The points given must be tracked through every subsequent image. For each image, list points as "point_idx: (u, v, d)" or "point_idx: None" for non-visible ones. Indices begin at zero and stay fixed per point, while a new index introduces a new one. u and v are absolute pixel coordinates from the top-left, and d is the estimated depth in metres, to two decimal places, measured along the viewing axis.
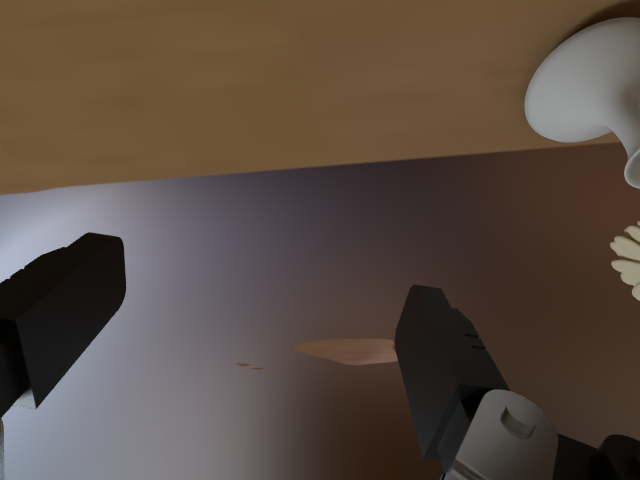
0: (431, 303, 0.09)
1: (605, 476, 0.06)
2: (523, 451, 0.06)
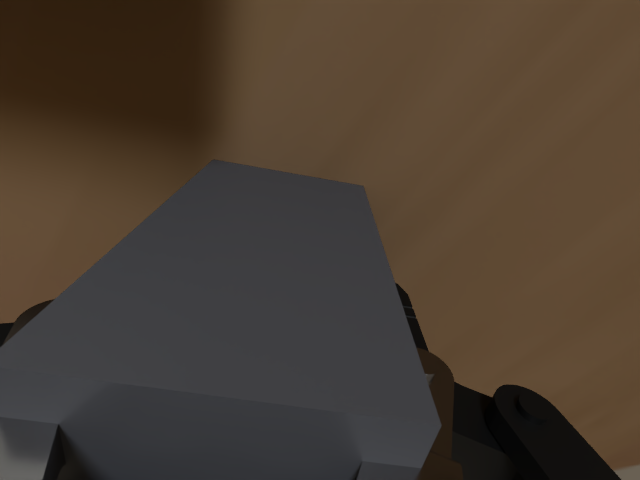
0: None
1: (498, 427, 0.06)
2: None
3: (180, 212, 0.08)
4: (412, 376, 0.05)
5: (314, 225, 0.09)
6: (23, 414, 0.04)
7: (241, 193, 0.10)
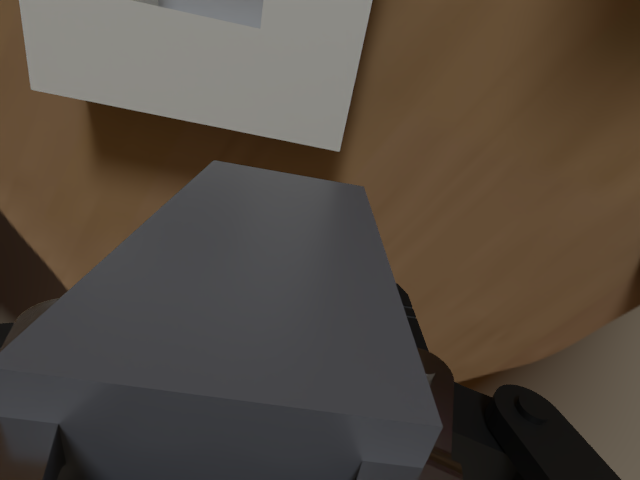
0: None
1: (498, 428, 0.06)
2: None
3: (181, 213, 0.08)
4: (413, 377, 0.05)
5: (315, 227, 0.09)
6: (25, 416, 0.04)
7: (242, 194, 0.10)
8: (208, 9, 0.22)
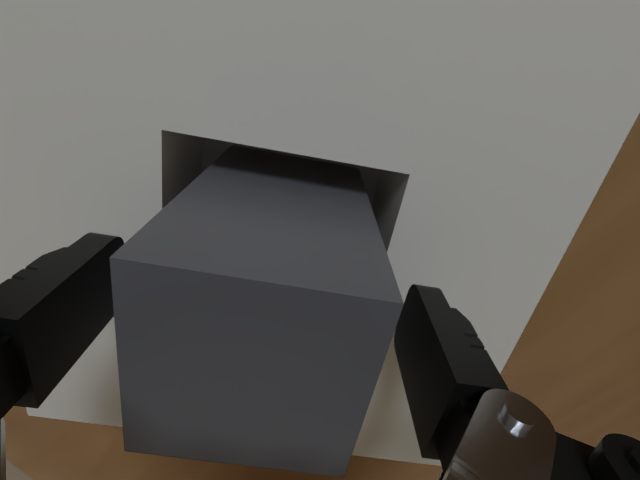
0: (430, 303, 0.09)
1: (603, 475, 0.06)
2: (521, 450, 0.06)
3: (213, 181, 0.10)
4: (387, 280, 0.07)
5: (318, 194, 0.11)
6: (130, 295, 0.06)
7: (258, 170, 0.12)
8: None
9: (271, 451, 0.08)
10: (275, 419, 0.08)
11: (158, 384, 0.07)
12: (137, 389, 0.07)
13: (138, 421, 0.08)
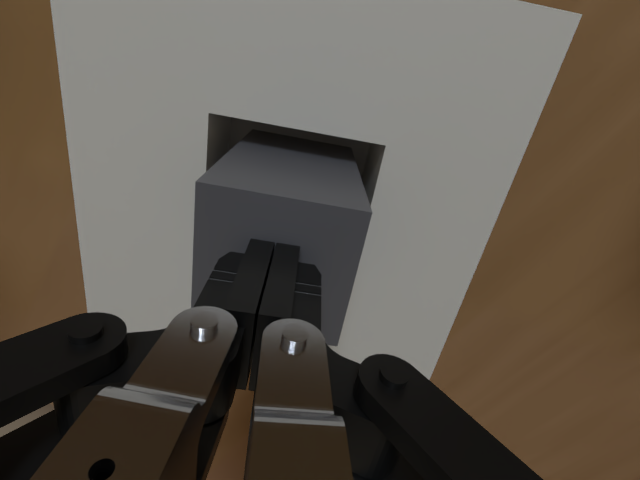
0: (280, 256, 0.10)
1: (367, 405, 0.06)
2: (278, 361, 0.06)
3: (245, 149, 0.14)
4: (363, 203, 0.11)
5: (319, 160, 0.15)
6: (205, 207, 0.10)
7: (275, 145, 0.16)
8: None
9: None
10: None
11: None
12: (203, 275, 0.11)
13: None
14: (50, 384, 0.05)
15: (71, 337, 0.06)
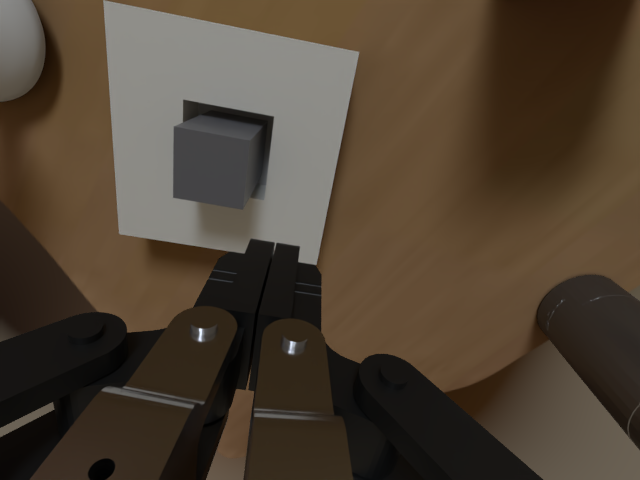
0: (280, 256, 0.10)
1: (367, 405, 0.06)
2: (278, 361, 0.06)
3: (201, 118, 0.28)
4: (248, 138, 0.25)
5: (241, 124, 0.29)
6: (178, 138, 0.24)
7: (220, 117, 0.30)
8: None
9: (218, 197, 0.26)
10: (219, 183, 0.26)
11: (184, 169, 0.25)
12: (178, 171, 0.25)
13: (178, 184, 0.26)
14: (50, 384, 0.05)
15: (71, 337, 0.06)
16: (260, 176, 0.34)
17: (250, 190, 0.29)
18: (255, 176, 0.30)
